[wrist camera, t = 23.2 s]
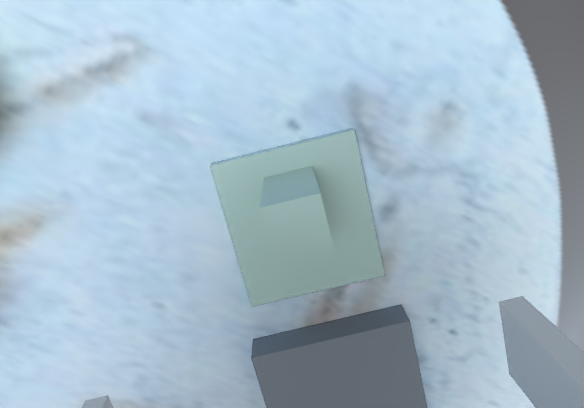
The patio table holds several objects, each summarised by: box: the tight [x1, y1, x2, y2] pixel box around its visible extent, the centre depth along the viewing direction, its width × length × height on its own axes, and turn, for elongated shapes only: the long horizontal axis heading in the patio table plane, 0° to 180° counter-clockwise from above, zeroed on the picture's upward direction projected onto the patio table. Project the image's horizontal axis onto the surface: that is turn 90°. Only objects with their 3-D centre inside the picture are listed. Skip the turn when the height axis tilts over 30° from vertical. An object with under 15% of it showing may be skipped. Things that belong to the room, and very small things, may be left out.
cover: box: [210, 128, 385, 307], centre depth 37 cm, size 12×13×10 cm
